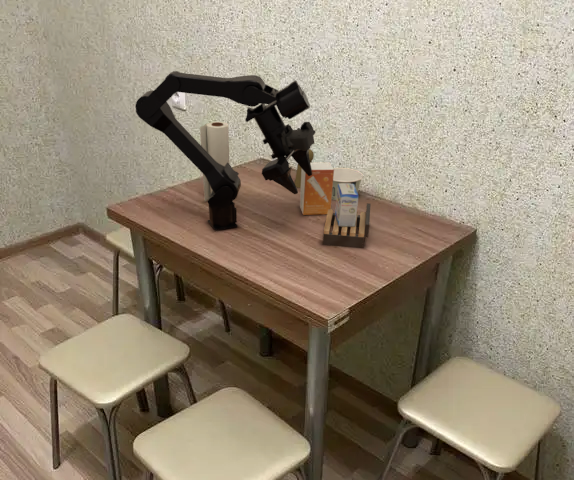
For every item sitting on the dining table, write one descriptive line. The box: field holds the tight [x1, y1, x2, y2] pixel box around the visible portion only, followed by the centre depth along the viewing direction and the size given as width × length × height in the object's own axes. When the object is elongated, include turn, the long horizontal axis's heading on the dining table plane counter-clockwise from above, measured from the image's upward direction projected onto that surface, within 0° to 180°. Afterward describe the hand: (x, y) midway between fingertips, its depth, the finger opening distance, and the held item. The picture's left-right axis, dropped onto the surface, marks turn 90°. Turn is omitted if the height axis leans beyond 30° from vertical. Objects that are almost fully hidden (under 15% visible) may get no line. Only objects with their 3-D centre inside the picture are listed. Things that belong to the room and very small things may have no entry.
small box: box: [299, 161, 334, 216], centre depth 161 cm, size 8×6×13 cm
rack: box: [322, 203, 372, 249], centre depth 150 cm, size 11×14×6 cm
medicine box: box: [334, 183, 359, 228], centre depth 147 cm, size 8×4×9 cm, turn 3°
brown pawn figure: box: [294, 148, 315, 189], centre depth 178 cm, size 6×6×11 cm
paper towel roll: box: [199, 121, 230, 202], centre depth 164 cm, size 7×6×21 cm
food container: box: [332, 167, 364, 201], centre depth 173 cm, size 12×12×6 cm
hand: (303, 184), depth 147 cm, fingers open, 9 cm apart
